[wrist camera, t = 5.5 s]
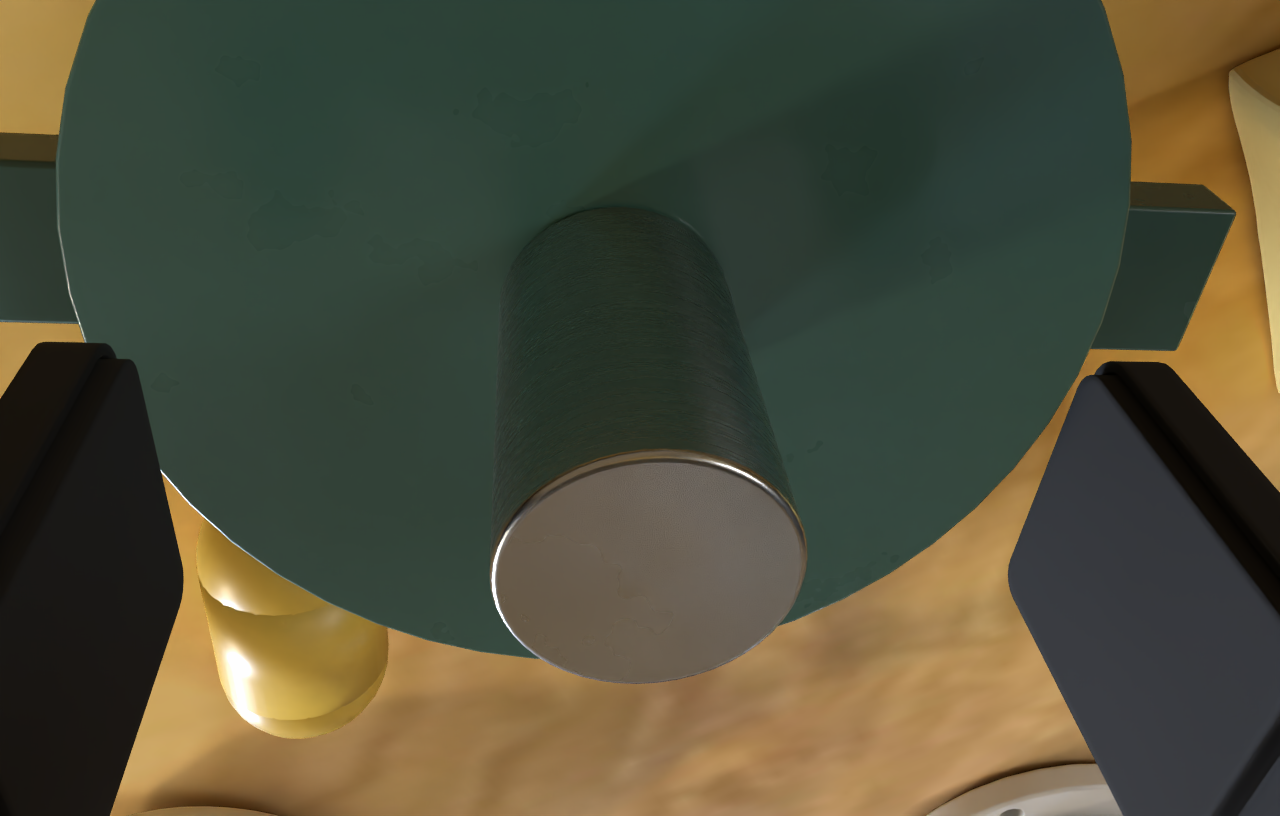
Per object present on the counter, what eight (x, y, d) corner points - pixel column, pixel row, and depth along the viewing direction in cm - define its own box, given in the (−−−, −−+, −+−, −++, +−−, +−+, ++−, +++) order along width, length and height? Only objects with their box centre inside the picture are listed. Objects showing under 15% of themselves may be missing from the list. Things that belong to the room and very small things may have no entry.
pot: (35, -354, 17) (-323, -342, 10) (1105, -254, 19) (1458, -183, 12) (169, 326, 24) (20, 622, 17) (936, 345, 27) (1091, 615, 19)
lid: (-53, -385, 10) (-580, -399, 5) (1263, -258, 12) (1783, -179, 7) (179, 615, 18) (51, 983, 13) (955, 610, 20) (1099, 937, 15)
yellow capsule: (206, 426, 26) (159, 546, 23) (384, 429, 27) (364, 546, 23) (247, 648, 31) (213, 775, 27) (399, 646, 31) (383, 771, 28)
